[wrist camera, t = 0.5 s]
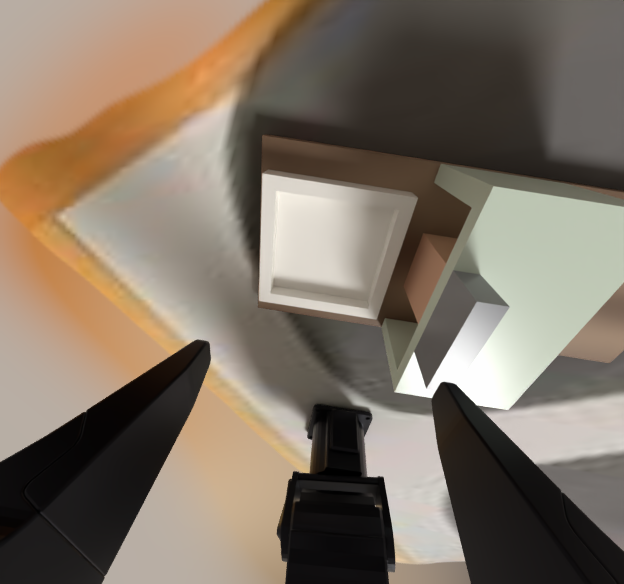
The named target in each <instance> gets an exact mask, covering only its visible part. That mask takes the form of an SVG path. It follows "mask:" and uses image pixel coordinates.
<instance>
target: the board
mask: <svg viewBox="0 0 624 584" xmlns="http://www.w3.org/2000/svg"><path fill="white" fill-rule="evenodd" d="M441 164H446V165H452V166H459V167H465V168H471V169H478V170H484V171H490V172H496V173H503V174H509V175H515V176H522V177H528V178H534V179H541V180H547V181H553V182H560V183H566V184H570V185H573V186H577V187H580V188H584V189H588V190H591V191H595V192H598V193H602V194H605V195H609V196H613V197H616V198H620V199H623V200H624V191H622V190H616V189H609V188H603V187H597V186H590V185H584V184H578V183H572V182H565V181H559V180H553V179H546V178H540V177H534V176H527V175H521V174H515V173H508V172H502V171H496V170H489V169H483V168H477V167H470V166H464V165H458V164H452V163H445V162H439V161H433V160H426V159H420V158H414V157H407V156H401V155H395V154H388V153H382V152H376V151H369V150H363V149H357V148H350V147H344V146H338V145H332V144H325V143H319V142H313V141H306V140H300V139H294V138H287V137H281V136H275V135H268V134H266V135H262V165H261V204H260V242H261V206H262V173H264V172H265V171H267V170H268V169H269V170H275V171H281V172H288V173H294V174H300V175H306V176H313V177H319V178H325V179H332V180H338V181H344V182H351V183H357V184H363V185H370V186H376V187H382V188H389V189H395V190H401V191H408V192H412V193H413V194H414V195H415V196H417V197H418V200H417V203H416V206H415V208H414V211H413V214H412V217H411V220H410V223H409V226H408V229H407V232H406V235H405V238H404V241H403V244H402V247H401V249H400V252H399V255H398V258H397V261H396V264H395V267H394V270H393V273H392V276H391V279H390V282H389V285H388V288H387V291H386V293H385V296H384V299H383V302H382V305H381V308H380V311H379V314H378V317H377V320H376V319H370V318H364V317H357V316H351V315H345V314H338V313H332V312H326V311H319V310H313V309H307V308H300V307H294V306H288V305H281V304H275V303H269V302H263V301H259V283H258V308H265V309H271V310H277V311H284V312H290V313H296V314H303V315H309V316H315V317H322V318H328V319H334V320H341V321H347V322H353V323H359V324H366V325H372V326H378V327H382V325H383V322H384V319H385V318H388V319H394V320H400V321H407V322H413V323H417V320H416V317H415V315H414V312H413V310H412V307H411V304H410V302H409V299H408V297H407V294H406V292H405V289H404V283H405V280H406V278H407V275H408V272H409V270H410V267H411V264H412V262H413V259H414V256H415V254H416V251H417V249H418V246H419V243H420V241H421V238H422V235H423V233H425V234H432V235H438V236H444V237H451V238H457V239H458V237H459V235H460V232H461V230H462V228H463V226H464V224H465V221H466V219H467V217H468V215H469V213H470V211H471V207H470V206H468V205H467V204H465V203H464V202H462V201H461V200H459V199H458V198H456V197H455V196H453V195H452V194H450V193H449V192H447V191H446V190H444V189H443V188H441V187H440V186H438V185H437V184H435V183H434V181H435V178H436V176H437V173H438V170H439V167H440V165H441ZM259 278H260V244H259ZM623 350H624V283H623V284H622V285H621V286H620V287H619V288H618V289H617V291H616V292H615V293H614V294H613V295H612V296H611V297H610V298H609V299H608V300H607V302H606V303H605V304H604V305H603V306H602V307H601V308H600V309H599V310H598V311H597V313H596V314H595V315H594V316H593V317H592V318H591V319H590V320H589V321H588V322H587V324H586V325H585V326H584V327H583V328H582V329H581V330H580V331H579V332H578V334H577V335H576V336H575V337H574V338H573V339H572V340H571V341H570V342H569V343H568V345H567V346H566V347H565V348H564V349H563V350H562V351H561V352H560V353H559V354H558V355H562V356H568V357H574V358H580V359H587V360H593V361H599V362H606V363H610V362H611V361H612V360H614V359H615V358H616V357H617V356H618V355H619V354H620V353H621V352H622V351H623Z"/></svg>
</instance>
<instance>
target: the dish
mask: <svg viewBox="0 0 624 584" xmlns="http://www.w3.org/2000/svg"><path fill="white" fill-rule="evenodd" d="M417 200H418V197H417V196H415V195H414V194H413V193H412V192H408V191H401V190H395V189H389V188H382V187H376V186H370V185H363V184H357V183H351V182H344V181H338V180H332V179H325V178H319V177H313V176H306V175H300V174H294V173H288V172H281V171H275V170H269V169H268V170H267V171H265V172H264V173H262V206H261V242H260V278H259V301H263V302H269V303H275V304H281V305H288V306H294V307H300V308H307V309H313V310H319V311H326V312H332V313H338V314H345V315H351V316H357V317H364V318H370V319H376V320H377V317H378V314H379V311H380V308H381V305H382V302H383V299H384V296H385V293H386V291H387V288H388V285H389V282H390V279H391V276H392V273H393V270H394V267H395V264H396V261H397V258H398V255H399V252H400V249H401V247H402V244H403V241H404V238H405V235H406V232H407V229H408V226H409V223H410V220H411V217H412V214H413V211H414V208H415V206H416V203H417Z"/></svg>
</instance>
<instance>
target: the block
mask: <svg viewBox="0 0 624 584" xmlns="http://www.w3.org/2000/svg"><path fill="white" fill-rule="evenodd" d="M456 241H457V238H451V237H444V236H438V235H432V234H425V233H423V235H422V238H421V241H420V243H419V246H418V249H417V251H416V254H415V256H414V259H413V262H412V264H411V267H410V270H409V272H408V275H407V278H406V280H405V283H404V289H405V292H406V294H407V297H408V299H409V302H410V304H411V307H412V310H413V312H414V315H415V317H416V320H417V323H418V324H419V322H420V320H421V318H422V315H423V313H424V311H425V309H426V307H427V304H428V302H429V300H430V298H431V296H432V293H433V291H434V289H435V287H436V285H437V283H438V280H439V278H440V276H441V274H442V272H443V269H444V267H445V265H446V263H447V261H448V259H449V256H450V254H451V252H452V250H453V248H454V245H455V243H456Z"/></svg>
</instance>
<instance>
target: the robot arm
mask: <svg viewBox="0 0 624 584" xmlns="http://www.w3.org/2000/svg"><path fill="white" fill-rule="evenodd" d="M210 361H211V355H210V344H209V342H208V341H204V340H195V341H193V342H192V343H190V344H189V345H187V346H185V347H184V348H182V349H181V350H179V351H178V352H176V353H175V354H173V355H171V356H170V357H168V358H167V359H165V360H164V361H162V362H161V363H159V364H157V365H156V366H154V367H153V368H151V369H150V370H148V371H147V372H145V373H143V374H142V375H140V376H139V377H137V378H136V379H134V380H133V381H131V382H130V383H128V384H126V385H125V386H123V387H122V388H120V389H119V390H117V391H116V392H114V393H112V394H111V395H109V396H108V397H106V398H105V399H103V400H102V401H100V402H98V403H97V404H95V405H94V406H92V407H91V408H89V409H88V410H87V411H86V412H83V413H81V414H80V415H78V416H77V417H75V418H74V419H72V420H70V421H69V422H67V423H66V424H64V425H63V426H61V427H59V428H58V429H56V430H55V431H53V432H51V433H50V434H48V435H47V436H45V437H43V438H41V439H40V440H38V441H36V442H34V443H33V444H31V445H29V446H28V447H26V448H24V449H22V450H21V451H19V452H17V453H15V454H14V455H12V456H10V457H8V458H7V459H5V460H3V461H1V462H0V584H102V582H103V580H104V576H105V575H106V574H107V572H108V570H109V568H110V566H111V564H112V562H113V561H114V559H115V557H116V555H117V553H118V551H119V549H120V547H121V545H122V543H123V541H124V539H125V538H126V536H127V534H128V532H129V530H130V528H131V526H132V524H133V522H134V520H135V518H136V516H137V514H138V512H139V511H140V509H141V507H142V505H143V503H144V501H145V499H146V497H147V495H148V493H149V491H150V489H151V487H152V486H153V484H154V482H155V480H156V478H157V476H158V474H159V472H160V470H161V468H162V466H163V464H164V462H165V461H166V459H167V457H168V455H169V453H170V451H171V449H172V447H173V445H174V443H175V441H176V439H177V437H178V436H179V434H180V432H181V430H182V428H183V426H184V424H185V422H186V420H187V418H188V416H189V414H190V412H191V410H192V408H193V406H194V404H195V401H196V399H197V396H198V393H199V391H200V388H201V386H202V383H203V381H204V378H205V375H206V373H207V370H208V368H209V365H210ZM432 410H433V417H434V424H435V431H436V439H437V445H438V450H439V455H440V459H441V463H442V467H443V471H444V475H445V479H446V484H447V488H448V492H449V496H450V500H451V504H452V508H453V512H454V516H455V520H456V524H457V528H458V532H459V537H460V541H461V545H462V549H463V553H464V557H465V561H466V565H467V569H468V573H469V577H470V581H471V584H624V551H623V550H622V549H621V548H620V547H618V546H617V545H616V544H615V543H614V542H613V541H612V540H611V539H610V538H609V537H608V536H607V535H606V534H605V533H604V532H603V531H602V530H600V529H599V528H598V527H597V526H596V525H595V524H594V523H593V522H592V521H591V520H590V519H589V518H588V517H587V516H586V515H585V514H584V513H583V512H582V511H581V510H580V509H579V508H578V507H577V506H576V505H575V504H574V503H573V502H572V501H571V500H570V499H569V498H568V497H567V496H566V495H565V494H564V493H561V490H560V489H559V488H558V487H557V486H556V485H555V484H554V483H553V482H552V481H551V480H550V479H549V478H548V477H547V476H546V475H545V474H544V473H543V472H542V471H541V470H540V469H539V468H538V467H537V466H536V465H535V464H534V463H533V461H532V460H531V459H530V458H529V457H528V456H527V455H526V454H525V453H524V452H523V451H522V450H521V449H520V448H519V447H518V446H517V445H516V444H515V443H514V442H513V441H512V440H511V439H510V438H509V437H508V436H507V435H506V434H505V433H504V432H503V431H502V430H501V429H500V428H499V427H498V426H497V425H496V424H495V423H494V422H493V421H492V420H491V419H490V418H489V417H488V416H487V415H486V414H485V413H484V412H483V411H482V410H481V409H480V408H479V407H478V406H477V405H476V404H475V403H474V402H473V401H472V400H471V399H470V398H469V397H468V396H467V395H466V394H465V393H464V392H463V391H462V390H461V389H460V388H459V387H458V386H457V385H456V384H454V383H450V382H441V383H440V385H439V386H438V388H437V390H436V391H435V393H434V394H433V396H432ZM371 421H372V414H371V413H369V412H363V411H356V410H350V409H344V408H337V407H331V406H325V405H314V408H313V412H312V416H311V421H310V425H309V430H308V435H307V438H308V439H311V440H312V450H311V462H310V473H299V472H297V471H294V472H293V476H292V479H290V480H289V481H288V488H287V495H286V500H285V504H284V507H283V510H282V514H281V517H280V521H279V524H278V527H277V536H278V537H279V539H280V541H281V555H282V561H285V562H287V569H286V582H285V584H389V579H388V572H395V549H394V538H393V530H392V523H391V518H390V512H389V506H388V500H387V495H386V489H385V483H384V477H380V476H378V477H367V468H366V456H365V443H364V437H365V434H366V432H367V430H368V428H369V425H370V423H371ZM375 505H376V507H375Z"/></svg>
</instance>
